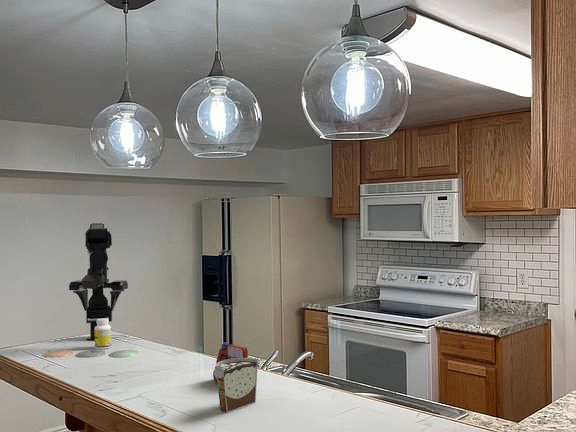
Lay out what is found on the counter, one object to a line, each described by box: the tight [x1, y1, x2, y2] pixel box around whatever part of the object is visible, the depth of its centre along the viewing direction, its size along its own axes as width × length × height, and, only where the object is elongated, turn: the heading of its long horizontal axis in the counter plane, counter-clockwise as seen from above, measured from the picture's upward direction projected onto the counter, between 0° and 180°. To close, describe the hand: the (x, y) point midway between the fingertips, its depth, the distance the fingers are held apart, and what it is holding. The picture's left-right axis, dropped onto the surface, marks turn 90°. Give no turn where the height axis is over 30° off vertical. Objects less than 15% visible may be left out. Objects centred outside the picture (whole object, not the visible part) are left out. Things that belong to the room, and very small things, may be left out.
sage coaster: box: [109, 349, 140, 359], centre depth 193 cm, size 9×9×1 cm
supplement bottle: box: [94, 317, 112, 350], centre depth 203 cm, size 5×5×10 cm
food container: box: [213, 357, 260, 414], centre depth 137 cm, size 12×6×10 cm, turn 141°
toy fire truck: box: [212, 342, 249, 385], centre depth 156 cm, size 7×12×10 cm, turn 41°
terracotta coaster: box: [43, 349, 74, 359], centre depth 194 cm, size 9×9×1 cm
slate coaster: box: [76, 349, 107, 359], centre depth 193 cm, size 9×9×1 cm
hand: (98, 310), depth 203 cm, fingers open, 9 cm apart
